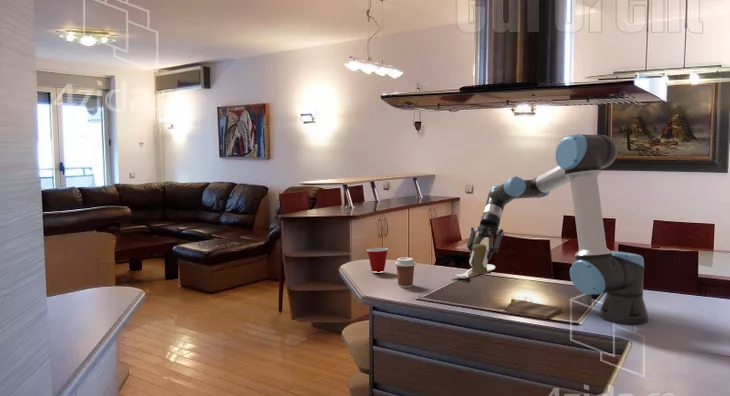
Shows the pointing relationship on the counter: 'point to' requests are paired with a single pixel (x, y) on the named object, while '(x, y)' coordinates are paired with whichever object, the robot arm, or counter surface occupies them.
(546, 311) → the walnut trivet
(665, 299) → the counter surface
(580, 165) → the robot arm
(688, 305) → the counter surface
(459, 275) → the spoon
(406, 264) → the coffee cup
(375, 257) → the plastic cup
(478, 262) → the cork
